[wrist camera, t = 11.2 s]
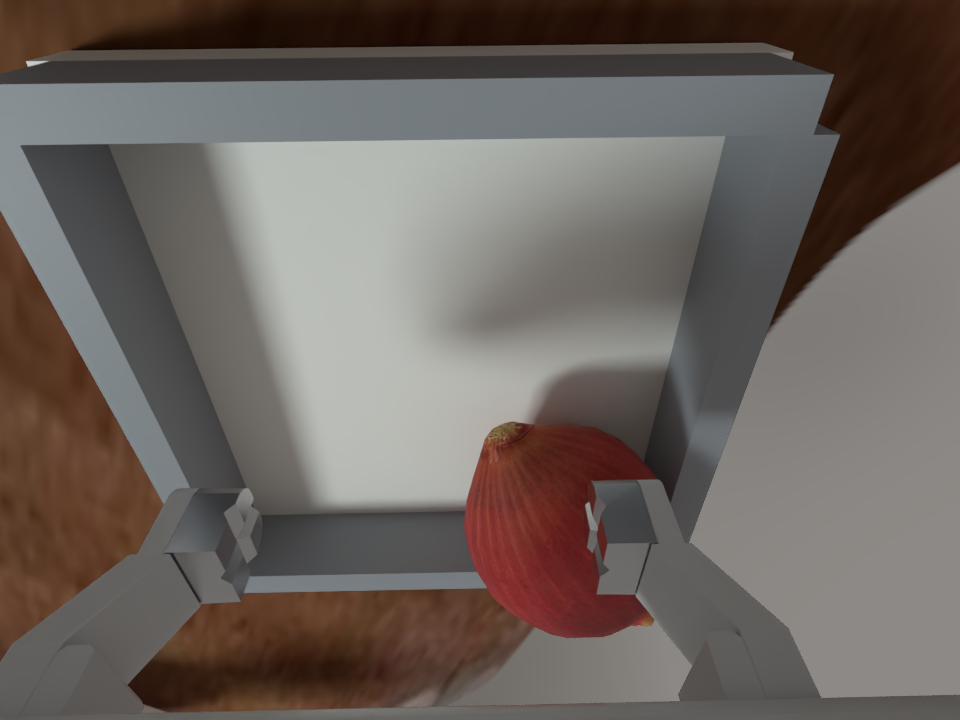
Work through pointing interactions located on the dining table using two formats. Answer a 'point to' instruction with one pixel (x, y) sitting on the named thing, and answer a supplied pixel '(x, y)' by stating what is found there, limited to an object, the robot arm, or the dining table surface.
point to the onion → (547, 525)
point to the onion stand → (410, 267)
